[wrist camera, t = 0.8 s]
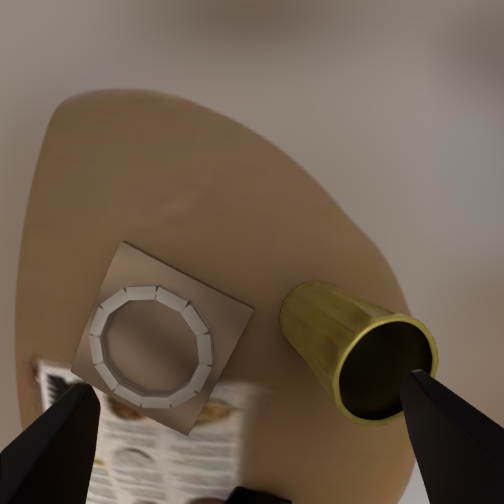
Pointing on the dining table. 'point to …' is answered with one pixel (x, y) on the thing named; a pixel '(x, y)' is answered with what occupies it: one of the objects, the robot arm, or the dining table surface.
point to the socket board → (158, 338)
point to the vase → (357, 349)
